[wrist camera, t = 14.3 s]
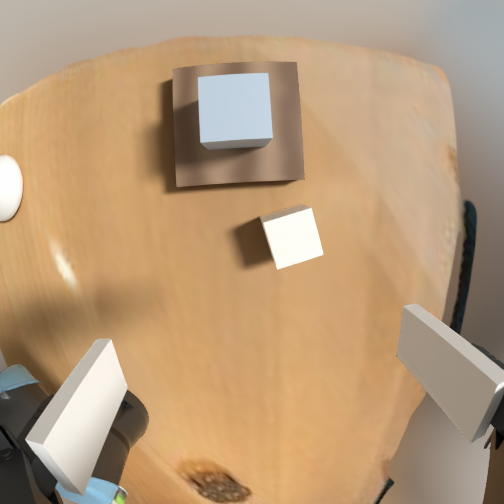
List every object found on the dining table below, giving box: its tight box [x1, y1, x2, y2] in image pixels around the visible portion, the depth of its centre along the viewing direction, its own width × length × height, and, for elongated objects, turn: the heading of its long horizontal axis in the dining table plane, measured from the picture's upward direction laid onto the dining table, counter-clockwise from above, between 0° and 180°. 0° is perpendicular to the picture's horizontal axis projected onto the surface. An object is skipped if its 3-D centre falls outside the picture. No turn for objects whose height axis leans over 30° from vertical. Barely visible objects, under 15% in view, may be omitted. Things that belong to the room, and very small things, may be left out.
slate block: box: [198, 73, 273, 150], centre depth 30 cm, size 7×7×8 cm
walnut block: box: [173, 62, 305, 187], centre depth 36 cm, size 16×16×4 cm
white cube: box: [260, 204, 324, 270], centre depth 39 cm, size 6×6×6 cm
